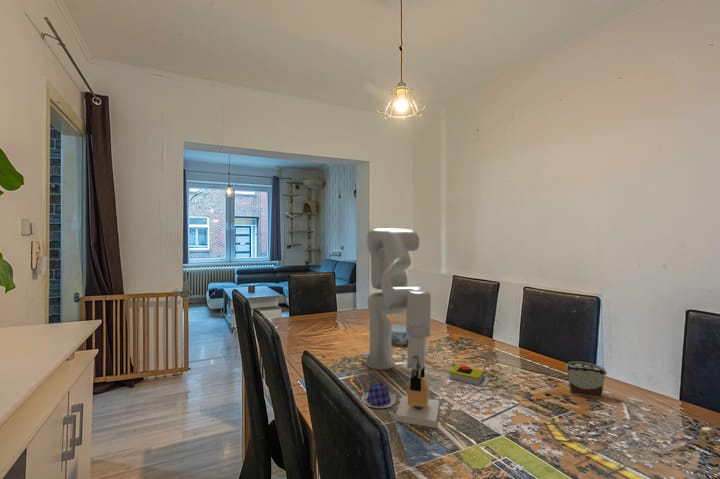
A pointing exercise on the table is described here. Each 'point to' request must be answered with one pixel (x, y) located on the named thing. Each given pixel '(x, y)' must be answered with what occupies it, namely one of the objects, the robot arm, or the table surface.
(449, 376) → the emergency button
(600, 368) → the food container
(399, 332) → the chinaware
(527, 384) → the table surface
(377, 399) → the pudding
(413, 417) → the board
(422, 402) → the tan wooden cube
